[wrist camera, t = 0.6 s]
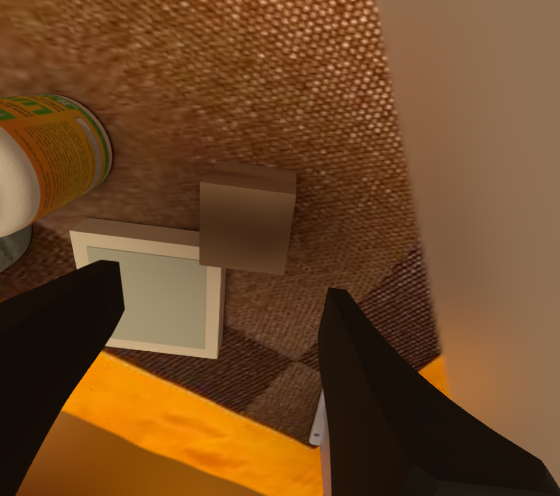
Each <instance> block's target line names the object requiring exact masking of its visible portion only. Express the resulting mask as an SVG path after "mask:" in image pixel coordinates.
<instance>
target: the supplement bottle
mask: <svg viewBox="0 0 560 496" xmlns="http://www.w3.org/2000/svg"><path fill="white" fill-rule="evenodd" d="M111 164H112V149H111V144H110V141H109V138H108V136H107V134H106V132H105V130H104V128H103V126H102V125H101V123H100V122H99V121H98V120H97V118H96V117H95V116H94V115H93V114H92V113H91V112H90V111H89V110H88V109H86V108H85V107H84V106H82V105H81V104H79V103H78V102H76V101H74V100H72V99H69V98H67V97H64V96H60V95H54V94H38V95H25V96H12V97H0V237H4V236H7V235H10V234H12V233H14V232H16V231H18V230H21V229H23V228H25V227H26V226H28V225H30V224H32V223H34V222H35V221H37V220H39V219H40V218H42V217H44V216H46V215H48V214H49V213H51V212H53V211H55V210H56V209H58V208H60V207H62V206H64V205H65V204H67V203H69V202H71V201H72V200H74V199H76V198H78V197H80V196H81V195H83V194H85V193H87V192H89V191H90V190H92V189H94V188H95V187H97V186H98V185H99V184H101V183H102V182H103V181H104V180H105V178H106V177H107V175H108V173H109V171H110V168H111Z"/></svg>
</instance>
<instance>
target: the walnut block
mask: <svg viewBox="0 0 560 496" xmlns="http://www.w3.org/2000/svg"><path fill="white" fill-rule="evenodd" d="M295 201H296V170H290V169H282V168H275V167H267V166H260V165H252V164H244V163H237V162H229V161H222V160H219V161H218V162H217V163H216V164H215V166H214V167H213V168H212V169H211V170H210V171H209V172H208V174H207V175H206V176H205V177H204V178H203V179H202V180H201V181H200V232H199V265H202V266H210V267H218V268H226V269H234V270H242V271H250V272H258V273H266V274H274V275H282V276H284V273H285V267H286V260H287V253H288V247H289V240H290V234H291V227H292V220H293V214H294V207H295Z"/></svg>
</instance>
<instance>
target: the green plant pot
mask: <svg viewBox="0 0 560 496" xmlns="http://www.w3.org/2000/svg"><path fill="white" fill-rule="evenodd" d="M31 234H32V224H30V225H28V226H26V227H25V228H23V229H21V230H18V231H16V232H14V233H12V234H10V235H7V236H4V237H0V273H1V272H2V271H3V270H4V269H6V268H7V267H9V266H10V265H11V264H13V263H14V262H16V261H17V260H18V259H19V258H20V257H21V256H22V255H23V254H24V252H25V251H26V250H27V248H28V246H29V243H30V240H31Z"/></svg>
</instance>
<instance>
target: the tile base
mask: <svg viewBox="0 0 560 496" xmlns="http://www.w3.org/2000/svg"><path fill="white" fill-rule="evenodd" d="M70 236H71V241H72V246H73V252H74V257H75V262H76V267H77V269H79V268H81V267H84V266H86V265H88V264H91V263H93V262H96V261H98V260H109V261H117V262H119V264H120V272H121V280H122V288H123V296H124V305H125V311H124V313H123V315H122V317H121V319H120V321H119V323H118V325H117V327H116V329H115V331H114V332H113V334H112V336H111V337H110V339H109V340H108V342H107V343H106V345H105V346H111V347H119V348H128V349H136V350H145V351H153V352H162V353H170V354H179V355H187V356H195V357H204V358H212V359H217V358H218V354H219V350H220V347H221V343H222V339H223V320H224V302H225V283H226V268H218V267H210V266H202V265H199V232H198V231H190V230H182V229H174V228H166V227H158V226H150V225H142V224H135V223H127V222H119V221H111V220H103V219H95V218H87V219H86V220H84V221H83V222H81V223H80V224H78V225H77V226H75V227H74V228H73V229H71V230H70Z"/></svg>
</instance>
